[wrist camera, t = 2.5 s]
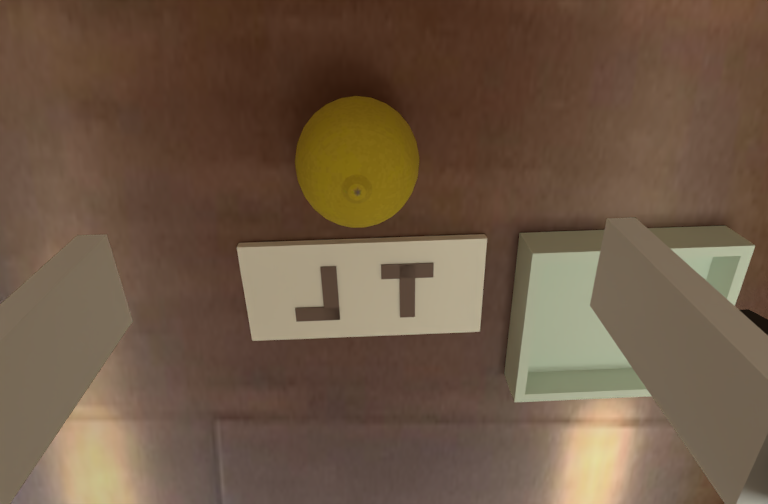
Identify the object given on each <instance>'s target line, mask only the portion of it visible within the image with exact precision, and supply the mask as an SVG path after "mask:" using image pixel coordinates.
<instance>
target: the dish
mask: <svg viewBox="0 0 768 504" xmlns="http://www.w3.org/2000/svg"><path fill="white" fill-rule="evenodd" d="M648 229H649V230H650V231H651V232H652V233H653V234H654V235H656V236H657V237H658V238H659V239H660V240H661V241H662V242H663V243H665V244H666V245H667V246H668V247H669V248H670V249H671V250H672V251H674V252H675V253H676V254H677V255H678V256H679V257H680V258H681V259H682V260H684V261H685V262H686V263H687V264H688V265H689V266H690V267H691V268H693V269H694V270H695V271H696V272H697V273H698V274H699V275H700V276H702V277H703V278H704V279H705V280H706V281H707V282H708V283H709V284H711V285H712V286H713V287H714V288H715V289H716V290H717V291H718V292H719V293H721V294H722V295H723V296H724V297H725V298H726V299H727V300H728V301H730V302H731V303H732V304H733V305H734V306H735V304H736V301H737V298H738V295H739V292H740V289H741V286H742V283H743V280H744V277H745V274H746V271H747V268H748V265H749V263H750V260H751V257H752V254H753V251H754V248H755V245H754V244H752V243H751V242H749V241H748V240H746V239H745V238H743V237H742V236H740V235H739V234H737V233H736V232H734V231H733V230H731V229H730V228H728V227H727V226H697V227H668V228H648ZM603 235H604V230H584V231H556V232H528V233H519V242H518V252H517V261H516V270H515V279H514V288H513V298H512V307H511V316H510V325H509V334H508V344H507V353H506V362H505V371H504V375H505V378H506V381H507V384H508V386H509V389H510V392H511V395H512V397H513V400H514V402H534V401H557V400H579V399H602V398H625V397H648V396H651V394H650V393H649V391H648V390H647V389H646V387H645V386H644V384H643V383H642V381H641V380H640V378H639V377H638V375H637V374H636V372H635V371H634V370H633V368H632V367H631V365H630V364H629V362H628V361H627V359H626V358H625V356H624V355H623V353H622V352H621V350H620V349H619V348H618V346H617V345H616V343H615V342H614V340H613V339H612V337H611V336H610V334H609V333H608V331H607V330H606V328H605V327H604V326H603V324H602V323H601V321H600V320H599V318H598V317H597V315H596V314H595V312H594V311H593V309H592V308H591V306H590V301H591V296H592V291H593V286H594V281H595V276H596V271H597V266H598V260H599V255H600V250H601V245H602V240H603Z"/></svg>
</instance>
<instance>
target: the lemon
mask: <svg viewBox="0 0 768 504" xmlns="http://www.w3.org/2000/svg"><path fill="white" fill-rule="evenodd" d="M295 167H296V173H297V179H298V182H299V185H300V187H301V189H302V192H303V194H304V196H305V198H306V199H307V200H308V202H309V203H310V204H311V206H312V207H313V208H314V210H316V211H317V212H318V213H319V214H321V215H322V216H323V217H324V218H326V219H328V220H330V221H332V222H334V223H336V224H338V225H342V226H347V227H352V228H358V227H369V226H372V225H376V224H379V223H381V222H383V221H385V220H387V219H389V218H391V217H392V216H393V215H395V214H396V213H397V212H398V211H399V210H400V209H401V208H402V207H403V206H404V204H405V203H406V201H407V200H408V199H409V197H410V196H411V194H412V192H413V189H414V186H415V183H416V181H417V178H418V169H419V154H418V148H417V142H416V140H415V137H414V135H413V133H412V131H411V129H410V126H409V125H408V124H407V122H406V121H405V120H404V119H403V117H402V116H401V115H400V114H399V113H398V112H397V111H396V110H394V109H393V108H392V107H390V106H389V105H387V104H386V103H384V102H381V101H378V100H376V99H373V98H370V97H362V96H352V97H345V98H340V99H337V100H335V101H333V102H330V103H328V104H326V105H325V106H323V107H322V108H321V109H320V110H318V111H317V112H316V113H314V114H313V116H312V117H311V118H310V120H309V121H308V122H307V124H306V125H305V126H304V128H303V130H302V133H301V135H300V138H299V140H298V143H297V148H296V156H295Z"/></svg>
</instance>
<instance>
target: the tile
mask: <svg viewBox="0 0 768 504" xmlns="http://www.w3.org/2000/svg"><path fill="white" fill-rule="evenodd" d="M486 246H487V237H486V235H485V234H471V235H443V236H415V237H387V238H359V239H331V240H303V241H274V242H246V243H238V246H237V253H238V259H239V265H240V271H241V277H242V283H243V289H244V295H245V301H246V307H247V313H248V319H249V325H250V330H251V336H252V341H262V340H287V339H312V338H337V337H362V336H387V335H411V334H436V333H461V332H480V324H481V311H482V298H483V285H484V272H485V259H486Z"/></svg>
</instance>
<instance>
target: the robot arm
mask: <svg viewBox="0 0 768 504" xmlns="http://www.w3.org/2000/svg"><path fill="white" fill-rule="evenodd" d="M590 306H591V308H592V309H593V311H594V312H595V314H596V315H597V317H598V318H599V320H600V321H601V323H602V324H603V326H604V327H605V328H606V330H607V331H608V333H609V334H610V336H611V337H612V339H613V340H614V342H615V343H616V345H617V346H618V348H619V349H620V350H621V352H622V353H623V355H624V356H625V358H626V359H627V361H628V362H629V364H630V365H631V367H632V368H633V370H634V371H635V372H636V374H637V375H638V377H639V378H640V380H641V381H642V383H643V384H644V386H645V387H646V389H647V390H648V391H649V393H650V394H651V396H652V397H653V399H654V400H655V402H656V403H657V405H658V406H659V408H660V409H661V411H662V412H663V413H664V415H665V416H666V418H667V419H668V421H669V422H670V424H671V425H672V427H673V428H674V430H675V431H676V433H677V434H678V435H679V437H680V438H681V440H682V441H683V443H684V444H685V446H686V447H687V449H688V450H689V452H690V453H691V455H692V456H693V457H694V459H695V460H696V462H697V463H698V465H699V466H700V468H701V469H702V471H703V472H704V474H705V475H706V476H707V478H708V479H709V481H710V482H711V484H712V485H713V487H714V488H715V490H716V491H717V493H718V494H719V496H720V497H721V498H722V500H723V501H724V503H725V504H768V320H767V319H765V318H764V317H762V316H760V315H758V314H756V313H754V312H752V311H750V310H739V309H737V308H736V307H735V306H734V305H733V304H732V303H731V302H730V301H728V300H727V299H726V298H725V297H724V296H723V295H722V294H721V293H719V292H718V291H717V290H716V289H715V288H714V287H713V286H712V285H711V284H709V283H708V282H707V281H706V280H705V279H704V278H703V277H702V276H700V275H699V274H698V273H697V272H696V271H695V270H694V269H693V268H691V267H690V266H689V265H688V264H687V263H686V262H685V261H684V260H682V259H681V258H680V257H679V256H678V255H677V254H676V253H675V252H674V251H672V250H671V249H670V248H669V247H668V246H667V245H666V244H665V243H663V242H662V241H661V240H660V239H659V238H658V237H657V236H656V235H654V234H653V233H652V232H651V231H650V230H649V229H648V228H647V227H646V226H644V225H643V224H642V223H641V222H640V221H639V220H638V219H637V218H635V217H633V218H607V220H606V225H605V230H604V235H603V240H602V245H601V250H600V255H599V260H598V266H597V271H596V276H595V281H594V286H593V291H592V296H591V301H590ZM132 322H133V320H132V317H131V314H130V310H129V307H128V304H127V300H126V297H125V293H124V290H123V287H122V283H121V280H120V277H119V273H118V270H117V267H116V263H115V260H114V257H113V253H112V250H111V246H110V243H109V240H108V236H107V234H101V235H77V236H76V237H75V238H74V239H72V240H71V241H70V242H69V243H68V244H67V245H66V246H65V247H64V248H62V249H61V250H60V251H59V252H58V253H57V254H56V255H55V256H54V257H52V258H51V259H50V260H49V261H48V262H47V263H46V264H45V265H44V266H42V267H41V268H40V269H39V270H38V271H37V272H36V273H35V274H34V275H32V276H31V277H30V278H29V279H28V280H27V281H26V282H25V283H23V284H22V285H21V286H20V287H19V288H18V289H17V290H16V291H15V292H13V293H12V294H11V295H10V296H9V297H8V298H7V299H6V300H5V301H3V302H2V303H1V304H0V504H10V503H11V501H12V500H13V499H14V497H15V496H16V494H17V493H18V491H19V490H20V488H21V487H22V485H23V484H24V482H25V481H26V479H27V478H28V476H29V475H30V473H31V472H32V470H33V469H34V467H35V466H36V464H37V463H38V461H39V460H40V458H41V457H42V455H43V454H44V452H45V451H46V450H47V448H48V447H49V445H50V444H51V442H52V441H53V439H54V438H55V436H56V435H57V433H58V432H59V430H60V429H61V427H62V426H63V424H64V423H65V421H66V420H67V418H68V417H69V415H70V414H71V412H72V411H73V409H74V408H75V406H76V405H77V403H78V402H79V401H80V399H81V398H82V396H83V395H84V393H85V392H86V390H87V389H88V387H89V386H90V384H91V383H92V381H93V380H94V378H95V377H96V375H97V374H98V372H99V371H100V369H101V368H102V366H103V365H104V363H105V362H106V360H107V359H108V357H109V356H110V354H111V353H112V352H113V350H114V349H115V347H116V346H117V344H118V343H119V341H120V340H121V338H122V337H123V335H124V334H125V332H126V331H127V329H128V328H129V326H130V325H131V323H132Z"/></svg>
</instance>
